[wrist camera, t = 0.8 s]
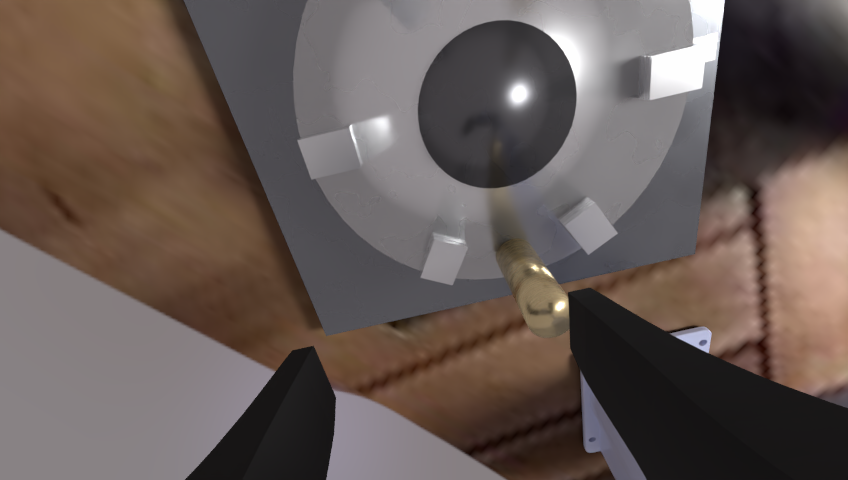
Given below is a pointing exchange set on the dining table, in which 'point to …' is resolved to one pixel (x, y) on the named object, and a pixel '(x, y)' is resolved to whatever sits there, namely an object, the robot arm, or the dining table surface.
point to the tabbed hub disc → (491, 128)
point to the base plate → (354, 257)
